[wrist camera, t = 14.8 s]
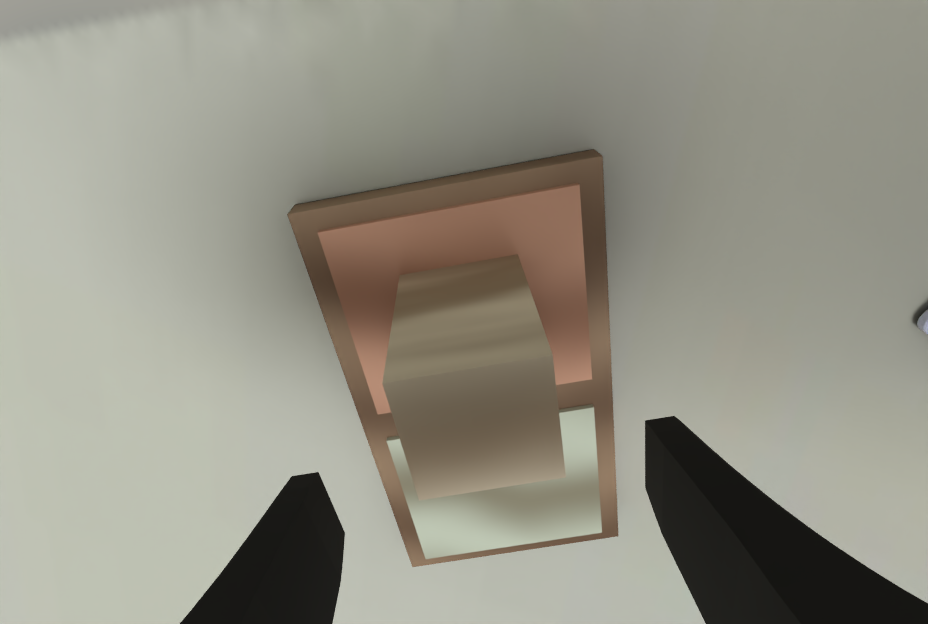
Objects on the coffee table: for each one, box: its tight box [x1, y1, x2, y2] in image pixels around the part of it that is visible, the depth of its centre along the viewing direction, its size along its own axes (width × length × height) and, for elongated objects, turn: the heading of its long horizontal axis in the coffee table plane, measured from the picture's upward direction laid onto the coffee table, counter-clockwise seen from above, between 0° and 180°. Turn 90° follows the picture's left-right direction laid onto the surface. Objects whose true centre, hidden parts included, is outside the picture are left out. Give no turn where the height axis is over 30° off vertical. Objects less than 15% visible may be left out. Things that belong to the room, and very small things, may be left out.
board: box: [287, 149, 618, 567], centre depth 21 cm, size 18×10×1 cm, turn 10°
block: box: [382, 254, 566, 501], centre depth 15 cm, size 4×4×6 cm
